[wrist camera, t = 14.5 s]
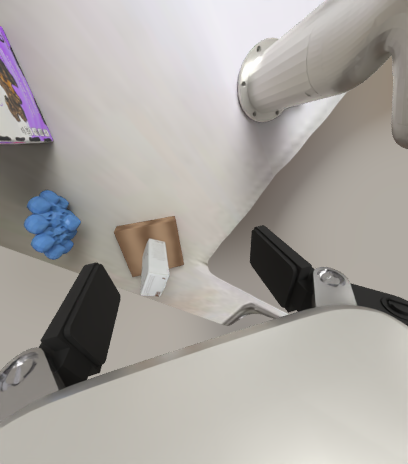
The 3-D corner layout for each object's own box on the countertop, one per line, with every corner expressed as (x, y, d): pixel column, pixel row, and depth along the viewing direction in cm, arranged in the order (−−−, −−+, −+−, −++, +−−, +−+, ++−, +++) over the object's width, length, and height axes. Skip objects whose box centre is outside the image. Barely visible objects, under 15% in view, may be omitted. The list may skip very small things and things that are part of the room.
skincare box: (148, 237, 39) (146, 271, 29) (166, 241, 41) (170, 274, 30) (141, 257, 41) (137, 296, 31) (159, 260, 43) (161, 297, 33)
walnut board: (174, 216, 41) (175, 220, 39) (182, 258, 48) (183, 264, 46) (116, 226, 38) (113, 232, 36) (133, 269, 46) (132, 277, 43)
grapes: (100, 233, 38) (80, 266, 28) (67, 237, 37) (34, 273, 27) (81, 183, 33) (48, 202, 22) (41, 186, 31) (-13, 207, 21)
